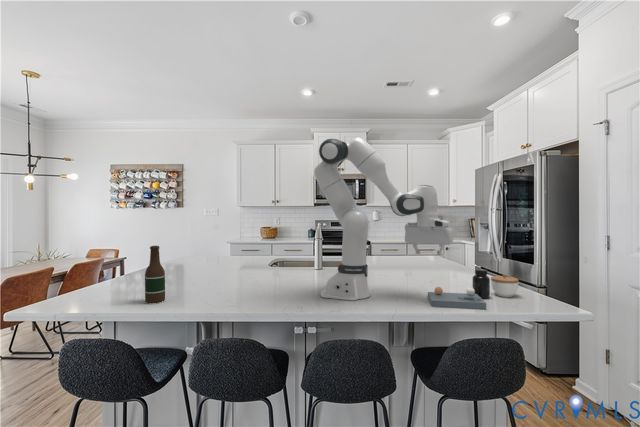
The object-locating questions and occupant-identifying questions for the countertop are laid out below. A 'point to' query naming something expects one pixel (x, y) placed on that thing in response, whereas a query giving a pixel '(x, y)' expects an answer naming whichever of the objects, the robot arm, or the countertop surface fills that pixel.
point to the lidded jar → (504, 285)
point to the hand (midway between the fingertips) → (428, 254)
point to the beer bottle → (154, 278)
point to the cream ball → (470, 291)
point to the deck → (456, 300)
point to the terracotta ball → (438, 290)
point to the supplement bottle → (481, 283)
